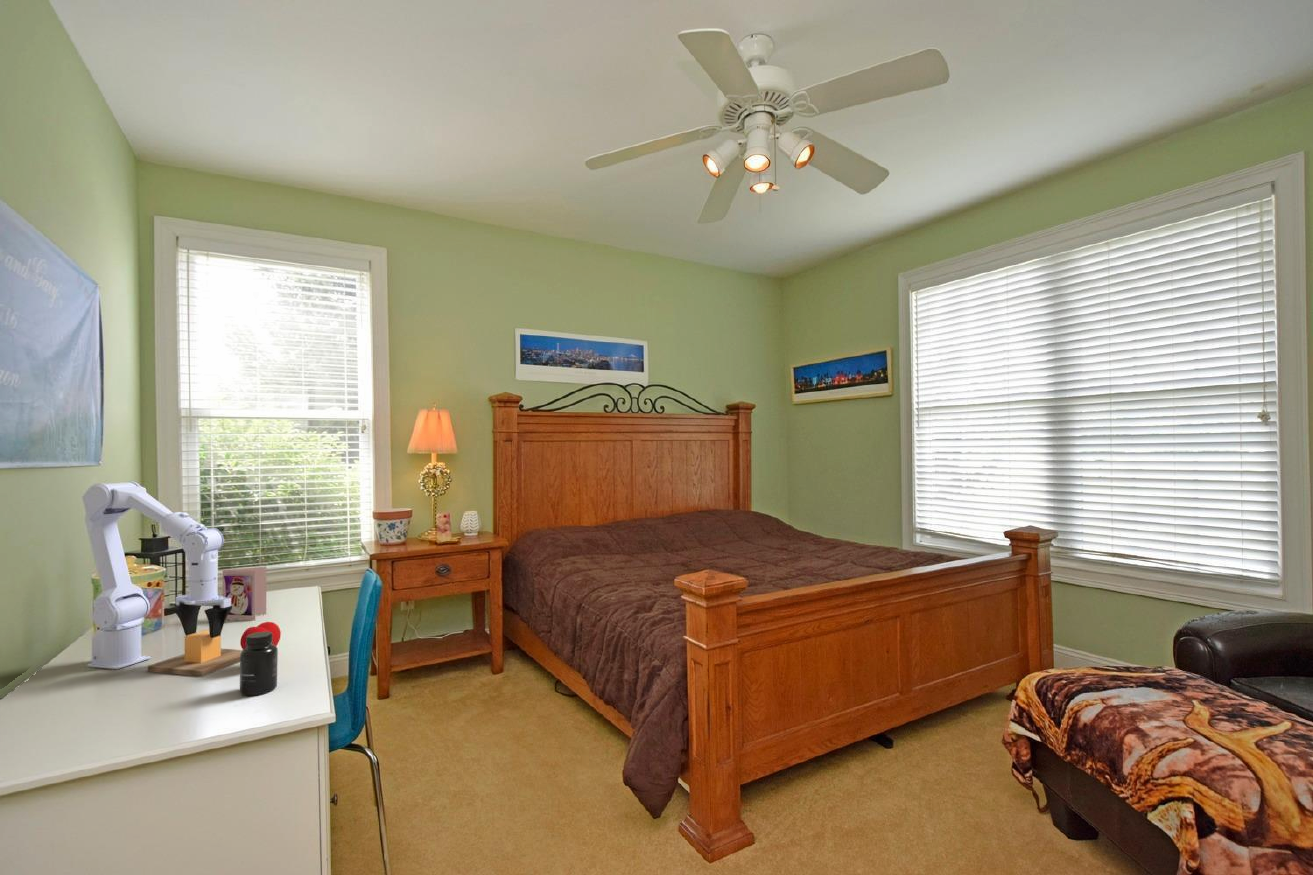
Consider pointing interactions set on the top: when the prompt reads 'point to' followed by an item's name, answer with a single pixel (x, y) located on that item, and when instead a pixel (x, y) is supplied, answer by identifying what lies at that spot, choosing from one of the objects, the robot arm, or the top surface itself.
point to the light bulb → (262, 628)
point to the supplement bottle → (258, 665)
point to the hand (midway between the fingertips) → (203, 635)
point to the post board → (197, 664)
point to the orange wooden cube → (202, 647)
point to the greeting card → (245, 592)
